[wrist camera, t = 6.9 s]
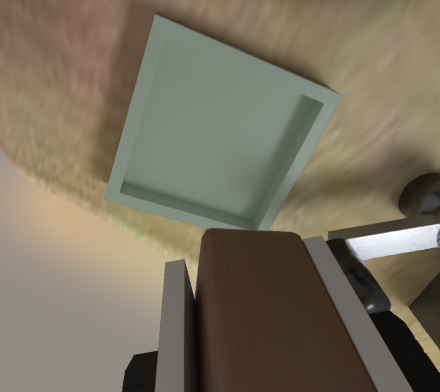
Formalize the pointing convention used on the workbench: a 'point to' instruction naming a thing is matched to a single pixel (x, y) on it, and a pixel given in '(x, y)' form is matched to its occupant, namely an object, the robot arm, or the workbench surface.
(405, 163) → the workbench surface
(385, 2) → the workbench surface
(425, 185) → the stand
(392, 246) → the crank
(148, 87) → the tray
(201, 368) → the wooden block
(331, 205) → the workbench surface
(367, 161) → the workbench surface
